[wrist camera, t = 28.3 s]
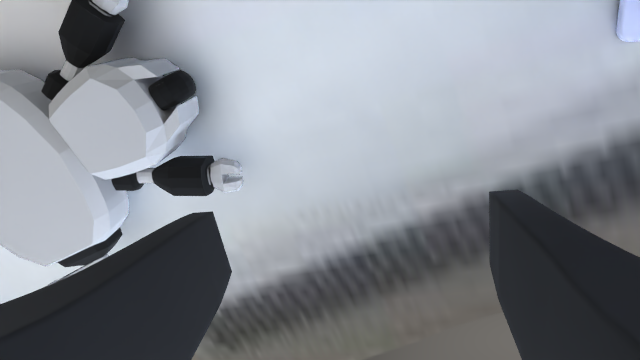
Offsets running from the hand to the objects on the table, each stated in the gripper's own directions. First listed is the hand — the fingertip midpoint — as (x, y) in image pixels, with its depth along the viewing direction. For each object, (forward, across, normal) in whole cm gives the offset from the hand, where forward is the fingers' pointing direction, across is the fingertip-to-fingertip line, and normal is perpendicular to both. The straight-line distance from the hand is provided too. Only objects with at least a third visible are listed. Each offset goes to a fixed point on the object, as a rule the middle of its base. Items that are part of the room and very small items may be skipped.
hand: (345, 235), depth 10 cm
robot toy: (+11, +15, -1) cm, 18 cm away
